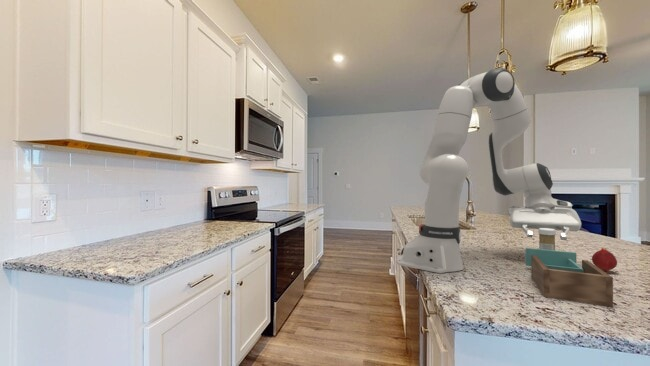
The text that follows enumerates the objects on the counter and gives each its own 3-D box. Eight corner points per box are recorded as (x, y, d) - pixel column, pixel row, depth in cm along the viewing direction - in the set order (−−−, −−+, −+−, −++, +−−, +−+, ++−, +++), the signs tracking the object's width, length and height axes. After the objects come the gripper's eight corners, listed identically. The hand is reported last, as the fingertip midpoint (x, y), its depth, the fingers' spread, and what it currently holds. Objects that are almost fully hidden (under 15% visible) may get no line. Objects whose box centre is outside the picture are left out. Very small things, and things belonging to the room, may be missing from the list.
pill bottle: (557, 267, 94) (557, 228, 94) (552, 270, 92) (552, 230, 92) (541, 264, 98) (541, 227, 98) (536, 266, 95) (536, 228, 95)
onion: (622, 274, 87) (622, 249, 87) (604, 274, 87) (604, 249, 87) (604, 268, 93) (604, 245, 93) (587, 268, 93) (587, 245, 93)
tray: (533, 276, 82) (533, 257, 82) (525, 264, 94) (525, 247, 94) (591, 284, 76) (591, 263, 76) (575, 270, 88) (575, 252, 88)
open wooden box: (543, 296, 71) (543, 269, 71) (531, 277, 85) (531, 254, 85) (613, 307, 64) (612, 277, 64) (587, 284, 79) (587, 260, 79)
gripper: (508, 201, 107) (511, 230, 98) (577, 202, 97) (587, 235, 88) (506, 211, 111) (509, 240, 102) (572, 214, 101) (582, 245, 92)
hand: (546, 237), depth 95 cm, fingers open, 8 cm apart
